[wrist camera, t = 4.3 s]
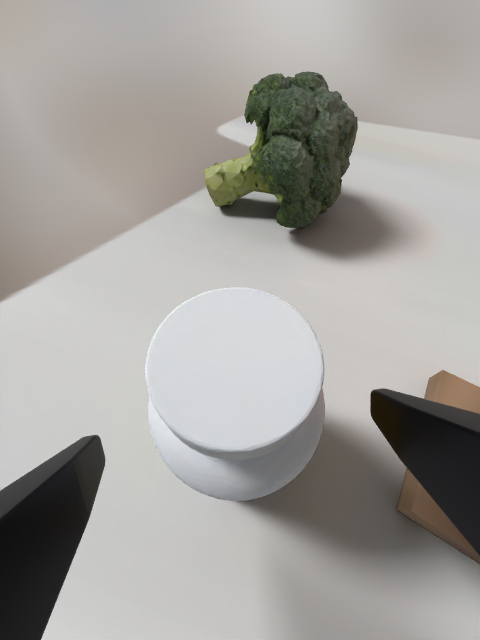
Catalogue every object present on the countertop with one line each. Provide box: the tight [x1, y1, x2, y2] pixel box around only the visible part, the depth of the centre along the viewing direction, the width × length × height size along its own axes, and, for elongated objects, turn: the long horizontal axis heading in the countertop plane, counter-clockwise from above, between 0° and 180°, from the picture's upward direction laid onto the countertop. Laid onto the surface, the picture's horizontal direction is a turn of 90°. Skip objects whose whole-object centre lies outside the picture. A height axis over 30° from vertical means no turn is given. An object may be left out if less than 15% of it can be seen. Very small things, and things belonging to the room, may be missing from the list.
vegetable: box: [204, 72, 358, 228], centre depth 26 cm, size 12×13×15 cm
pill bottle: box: [145, 287, 325, 501], centre depth 12 cm, size 6×6×12 cm
